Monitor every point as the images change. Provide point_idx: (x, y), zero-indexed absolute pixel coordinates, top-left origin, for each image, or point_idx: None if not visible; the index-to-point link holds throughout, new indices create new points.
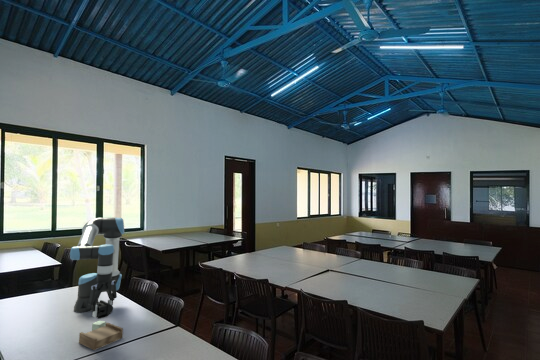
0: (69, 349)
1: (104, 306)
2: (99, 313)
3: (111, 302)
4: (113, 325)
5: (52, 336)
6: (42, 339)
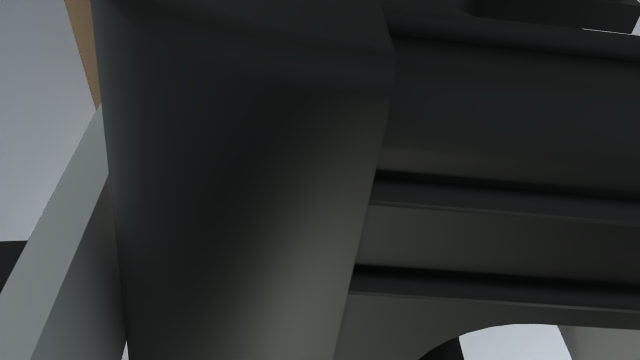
0: (626, 33)
1: (515, 112)
2: (630, 4)
3: (4, 315)
4: (88, 16)
5: (492, 347)
6: (558, 350)
